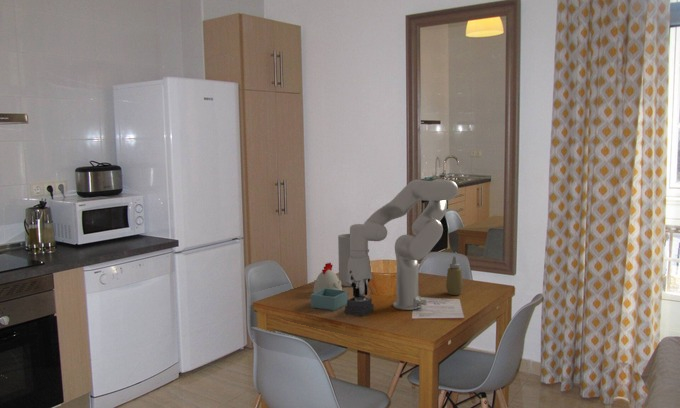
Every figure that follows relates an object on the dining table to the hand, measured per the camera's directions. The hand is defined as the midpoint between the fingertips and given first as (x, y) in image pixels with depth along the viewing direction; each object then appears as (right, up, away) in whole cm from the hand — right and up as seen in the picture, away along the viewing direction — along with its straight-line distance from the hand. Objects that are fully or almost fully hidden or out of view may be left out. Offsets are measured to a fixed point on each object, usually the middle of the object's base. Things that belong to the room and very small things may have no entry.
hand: (360, 295), depth 239 cm
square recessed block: (0, -7, +1) cm, 7 cm away
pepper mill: (0, -4, 0) cm, 4 cm away
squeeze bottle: (+46, -4, +27) cm, 53 cm away
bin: (-13, -6, +10) cm, 18 cm away
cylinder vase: (-3, -2, +49) cm, 49 cm away
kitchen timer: (-15, -5, +30) cm, 34 cm away
